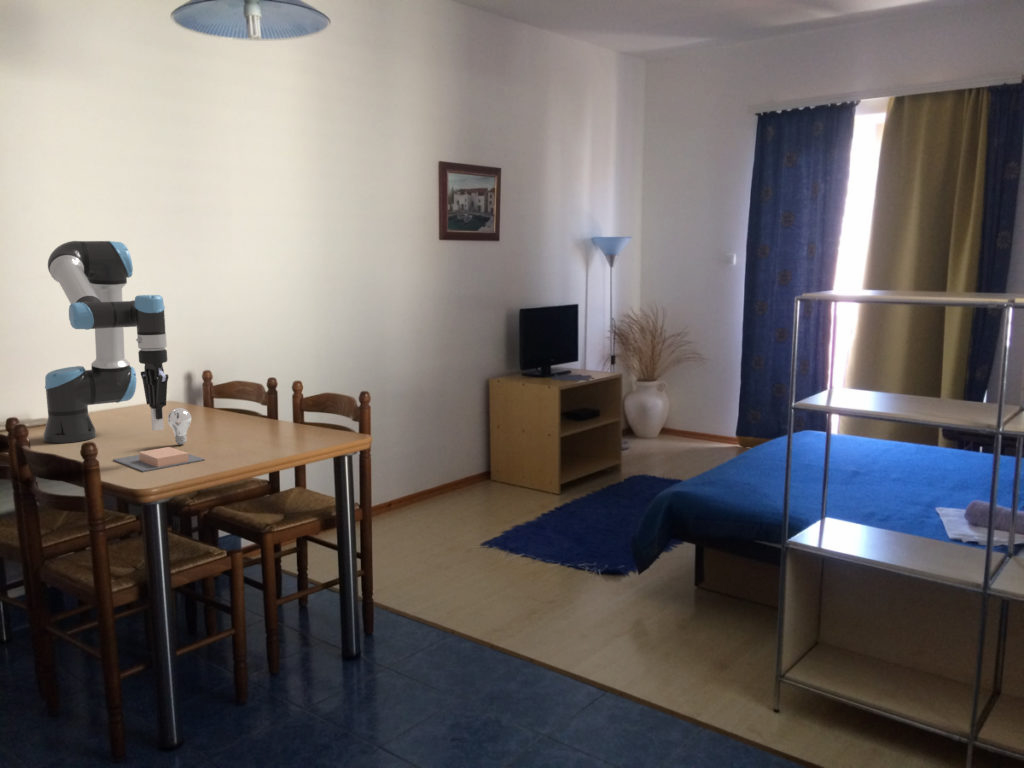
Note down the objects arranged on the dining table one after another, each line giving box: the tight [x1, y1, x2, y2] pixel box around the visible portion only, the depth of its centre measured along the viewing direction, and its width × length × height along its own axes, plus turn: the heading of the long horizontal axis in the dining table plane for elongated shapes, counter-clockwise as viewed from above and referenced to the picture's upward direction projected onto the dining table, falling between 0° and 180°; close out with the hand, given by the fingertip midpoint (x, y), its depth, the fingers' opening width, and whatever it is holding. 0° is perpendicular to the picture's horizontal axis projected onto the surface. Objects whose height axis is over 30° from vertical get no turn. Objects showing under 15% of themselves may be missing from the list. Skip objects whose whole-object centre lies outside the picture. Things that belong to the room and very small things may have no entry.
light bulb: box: [167, 407, 192, 446], centre depth 260 cm, size 7×7×12 cm
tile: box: [138, 446, 189, 467], centre depth 238 cm, size 2×9×12 cm
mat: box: [113, 453, 205, 473], centre depth 241 cm, size 20×18×1 cm
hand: (158, 429), depth 239 cm, fingers closed
